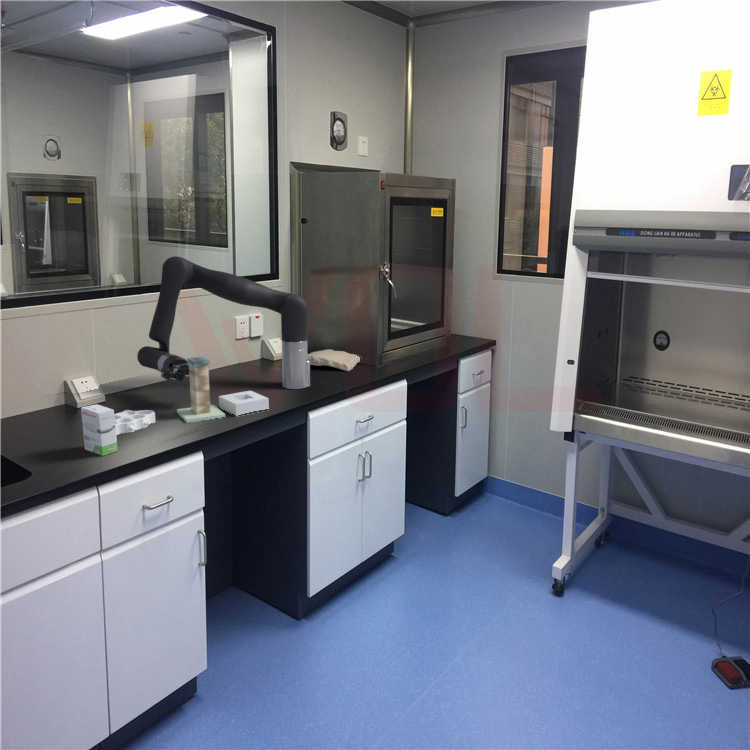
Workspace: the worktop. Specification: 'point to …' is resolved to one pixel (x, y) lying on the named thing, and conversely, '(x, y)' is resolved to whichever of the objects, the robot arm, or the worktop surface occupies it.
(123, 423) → the white multi-hole tray
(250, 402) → the white square stand
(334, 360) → the flat sandstone piece
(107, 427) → the ink box
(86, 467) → the worktop surface
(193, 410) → the plug
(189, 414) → the pad
